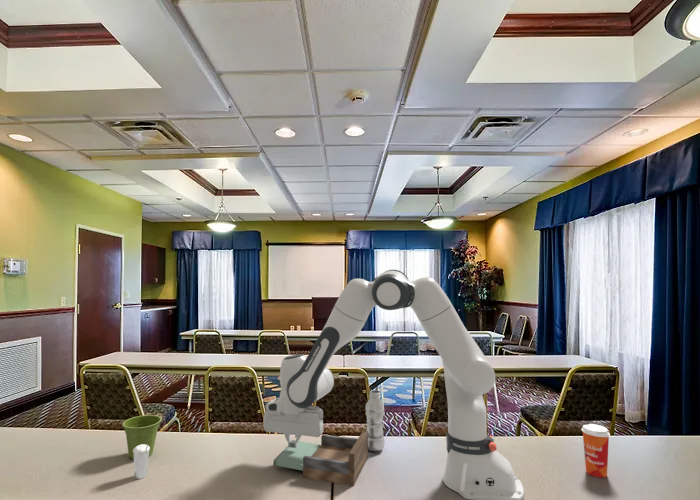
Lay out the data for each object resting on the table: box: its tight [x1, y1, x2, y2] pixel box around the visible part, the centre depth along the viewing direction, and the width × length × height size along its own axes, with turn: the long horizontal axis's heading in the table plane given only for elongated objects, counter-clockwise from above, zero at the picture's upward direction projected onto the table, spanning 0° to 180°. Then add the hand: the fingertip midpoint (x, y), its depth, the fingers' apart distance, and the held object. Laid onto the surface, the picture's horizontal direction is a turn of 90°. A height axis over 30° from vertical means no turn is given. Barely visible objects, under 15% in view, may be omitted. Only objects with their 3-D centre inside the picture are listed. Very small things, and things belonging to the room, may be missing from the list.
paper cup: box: [581, 423, 611, 479], centre depth 127 cm, size 8×8×14 cm
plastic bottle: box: [365, 389, 386, 452], centre depth 143 cm, size 6×7×20 cm
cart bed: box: [302, 430, 369, 487], centre depth 129 cm, size 16×18×9 cm
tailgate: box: [273, 439, 321, 472], centre depth 133 cm, size 2×16×10 cm
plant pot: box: [121, 414, 163, 460], centre depth 137 cm, size 12×12×11 cm
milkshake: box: [133, 444, 150, 480], centre depth 123 cm, size 4×5×10 cm
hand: (293, 447), depth 133 cm, fingers closed
